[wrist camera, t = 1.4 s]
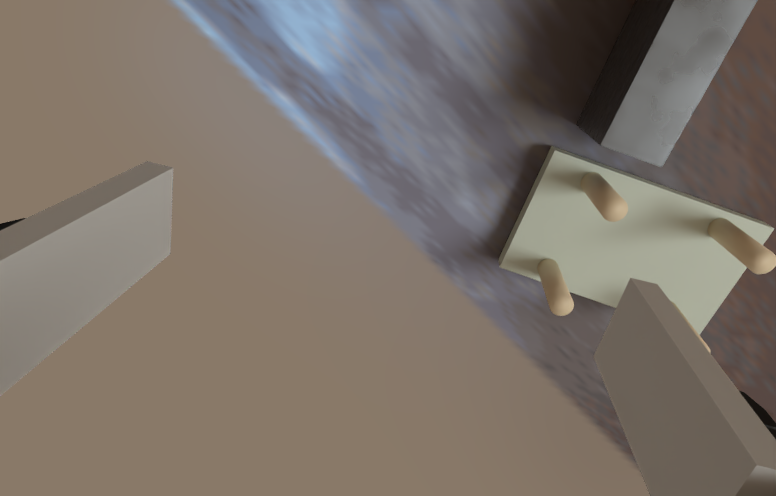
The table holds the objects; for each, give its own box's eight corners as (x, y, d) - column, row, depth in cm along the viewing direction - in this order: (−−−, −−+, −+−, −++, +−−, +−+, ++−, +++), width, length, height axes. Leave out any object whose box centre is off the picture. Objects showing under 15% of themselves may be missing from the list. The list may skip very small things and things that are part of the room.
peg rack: (498, 259, 43) (506, 304, 36) (551, 145, 39) (571, 172, 32) (690, 327, 43) (733, 384, 37) (763, 221, 39) (827, 263, 32)
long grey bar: (637, 146, 38) (674, 171, 32) (566, 120, 38) (588, 140, 32) (781, -120, 31) (865, -157, 25) (694, -153, 31) (755, -198, 25)
